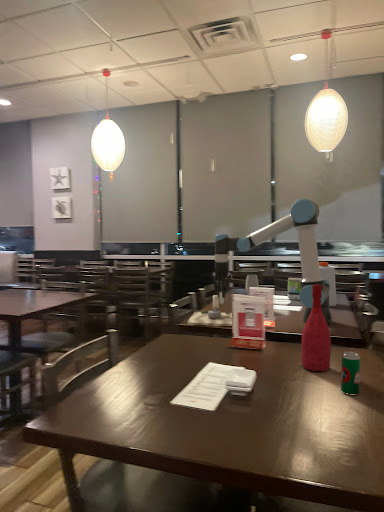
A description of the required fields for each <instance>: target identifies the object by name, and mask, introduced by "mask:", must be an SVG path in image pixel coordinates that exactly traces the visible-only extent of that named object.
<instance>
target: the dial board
mask: <svg viewBox="0 0 384 512" xmlns="http://www.w3.org/2000/svg"><path fill="white" fill-rule="evenodd" d="M209 311H210V310H202V311H194V312H193V313H192V315H191V316H190V317H189V319H188V321H187V322H186V326H194V325H206V326H205V327H221V326H232V313H233V312H229V311H225V312H221V318H216V319H214V318H209V317H208V312H209Z"/></svg>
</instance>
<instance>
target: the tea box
mask: <svg viewBox="0 0 384 512" xmlns="http://www.w3.org/2000/svg"><path fill="white" fill-rule="evenodd" d="M301 279H302V277H288V278H287V299H288V298H289V299H288V300H295V301H296V300H297V301H299V300H300V298H299V294H300V290H301V288H300V280H301Z"/></svg>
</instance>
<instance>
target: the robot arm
mask: <svg viewBox="0 0 384 512" xmlns="http://www.w3.org/2000/svg"><path fill="white" fill-rule="evenodd" d="M319 214H320V208H319V205H318V204H317V203H316V202H315V201H312V200H310V199H308V198H302V199H300V198H299V199H297V200H295V202H293V203H292V205H291V207H290V211H289V214H287V215H285V216H284V217H282V218H279V219H277V220H275V221H274V222H271V223H269V224H268V225H266V226H263V227H262V228H260V229H259V230H257V231H255V232H254V231H253V232H252V233H250V234H248V235H246V236H244V237H229V234H227V233H224V234H223V233H220V234H215V235H214V261H215V262H214V272H212V273H210V276H211V279H212V282H213V288H214V290H215V291H217V295H218V297H219V304H221V305H223V304H224V303H225V301H224V299H225V298H226V292H228V291H229V289H230V285H231V280H232V278H233V276H234V275H233V274H232V273H231V272H230V271H229V252H241V253H242V252H249V251H251V250H253V249H254V248H255V247H257V246H259V245H261V244H263V243H265V242H267V241H269V240H271V239H273V238H275V237H278V236H280V235H281V234H283V233H285V232H288V231H289V230H292V229H295V230H296V231H297V238H298V250H299V258H300V268H301V276H302V277H301V278H302V279H301V280H300V288H301V290H300V294H299V298H300V302H301V303H302V305H303V306H305V309H304V312H303V314H302V315H303V316H302V322H304V323H306V322H307V320H308V318H309V315H310V313H311V310H312V304H313V297H312V286H313V285H314V284H319V285H321V286H322V297H321V309H322V313H323V316H324V319H325V321H326V323H327V325H331V324H332V323H333V321H334V320H333V319H334V318H333V315H332V313H331V310H330V307H329V295H330V282H329V280H324V279H323V278H322V277H321V276H320V269H319V262H320V261H319V254H318V252H319V251H318V244H317V243H318V242H317V232H316V228H317V226H319V224H318V217H319Z"/></svg>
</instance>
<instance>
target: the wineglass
mask: <svg viewBox="0 0 384 512" xmlns="http://www.w3.org/2000/svg"><path fill="white" fill-rule="evenodd" d="M259 284H260V283H259V279H258V275H257V274H247V275H246V279H245V292H246V294H248V296H249V287H260V286H259Z"/></svg>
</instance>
